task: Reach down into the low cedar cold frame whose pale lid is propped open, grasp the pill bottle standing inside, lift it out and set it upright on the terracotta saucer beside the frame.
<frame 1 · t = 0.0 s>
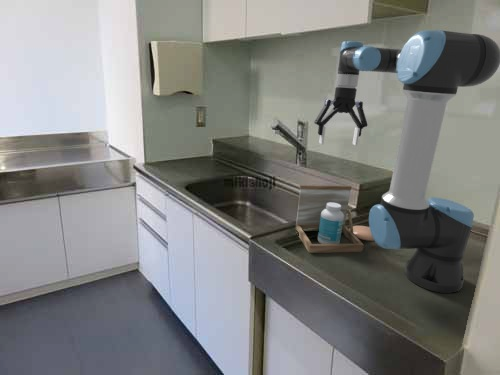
hand: (338, 144, 140), 28 cm above the worktop, fingers open, 13 cm apart
pill bottle: (328, 242, 123), resting in cold frame
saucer: (364, 233, 131), on the worktop
cold frame: (327, 240, 124), on the worktop
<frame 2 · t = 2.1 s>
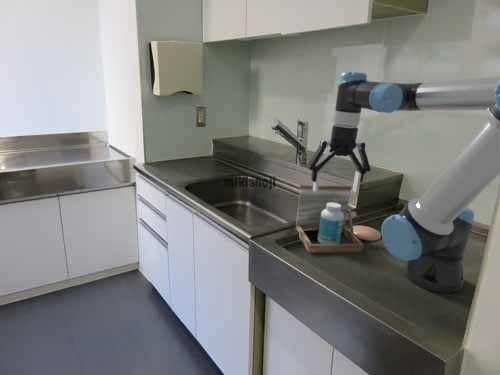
hand: (335, 191, 117), 18 cm above the worktop, fingers open, 13 cm apart
nothing on the worktop moved.
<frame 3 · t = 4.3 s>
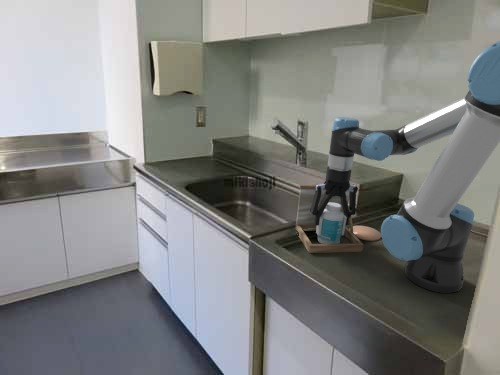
hand: (329, 233, 122), 3 cm above the worktop, fingers closed on pill bottle, 7 cm apart
pill bottle: (328, 242, 123), resting in cold frame, touching gripper
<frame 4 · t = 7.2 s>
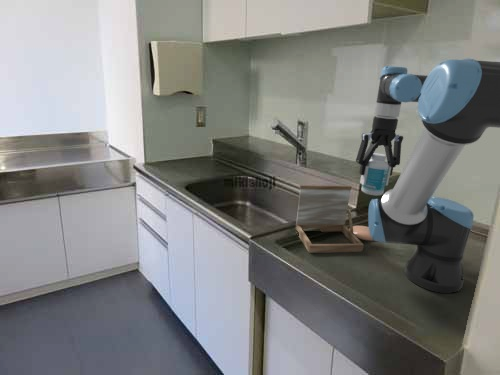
hand: (373, 184, 125), 19 cm above the worktop, fingers closed on pill bottle, 7 cm apart
pill bottle: (371, 193, 126), point 15 cm above the worktop, touching gripper
when the fingers open (5 cm above the worktop, at t = 10.5 s): pill bottle drops 1 cm, resting on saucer.
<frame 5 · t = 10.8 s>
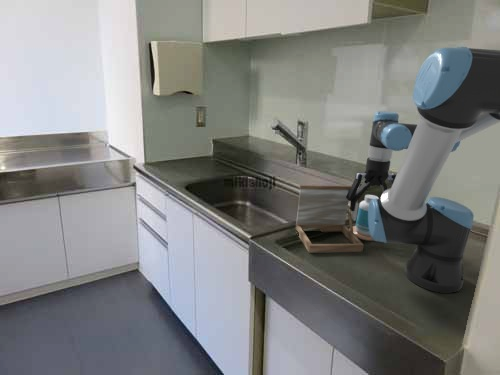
hand: (368, 218, 129), 6 cm above the worktop, fingers open, 11 cm apart
pill bottle: (365, 232, 131), resting on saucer
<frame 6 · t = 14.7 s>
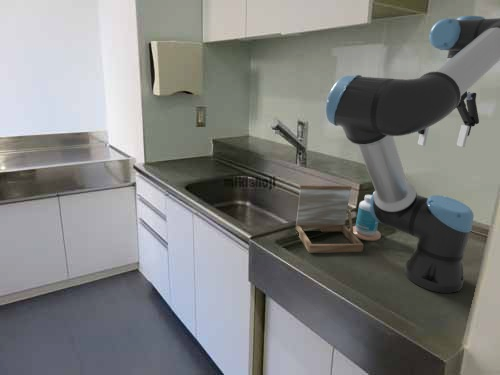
hand: (440, 145, 114), 35 cm above the worktop, fingers open, 13 cm apart
nothing on the worktop moved.
at the end: pill bottle 0.1 cm from the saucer (horizontally); pill bottle tilted 0°; the gripper is holding nothing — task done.
